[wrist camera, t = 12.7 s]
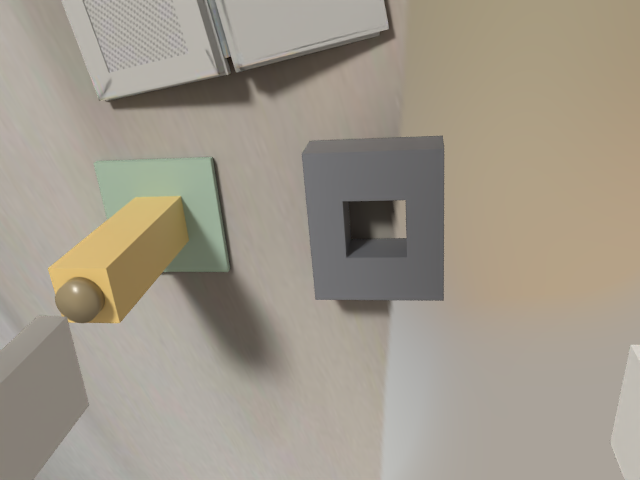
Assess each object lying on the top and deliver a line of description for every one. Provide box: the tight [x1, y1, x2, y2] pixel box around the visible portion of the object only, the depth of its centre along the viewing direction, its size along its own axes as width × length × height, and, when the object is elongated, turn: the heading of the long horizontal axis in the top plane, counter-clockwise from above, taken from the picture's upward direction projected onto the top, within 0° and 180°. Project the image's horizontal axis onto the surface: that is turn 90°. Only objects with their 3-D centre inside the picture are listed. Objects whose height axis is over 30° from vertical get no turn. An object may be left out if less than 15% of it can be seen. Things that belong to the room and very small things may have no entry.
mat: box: [94, 157, 230, 272], centre depth 51 cm, size 10×10×1 cm
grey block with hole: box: [302, 136, 444, 300], centre depth 46 cm, size 12×10×4 cm
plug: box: [48, 196, 189, 323], centre depth 44 cm, size 4×4×14 cm
